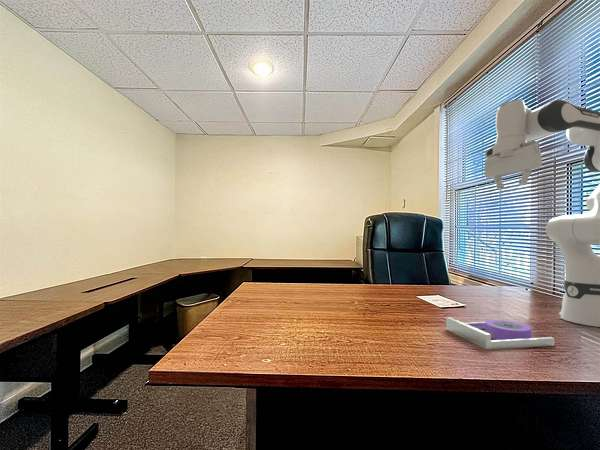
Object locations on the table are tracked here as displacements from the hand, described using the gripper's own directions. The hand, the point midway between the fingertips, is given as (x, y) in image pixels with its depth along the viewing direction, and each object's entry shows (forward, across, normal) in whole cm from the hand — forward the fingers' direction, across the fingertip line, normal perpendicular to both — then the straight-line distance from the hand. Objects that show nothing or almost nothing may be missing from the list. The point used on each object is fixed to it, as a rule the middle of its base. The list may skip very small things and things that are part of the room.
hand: (511, 186), depth 106 cm
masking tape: (+48, -10, +11) cm, 51 cm away
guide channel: (+48, -10, +14) cm, 51 cm away
